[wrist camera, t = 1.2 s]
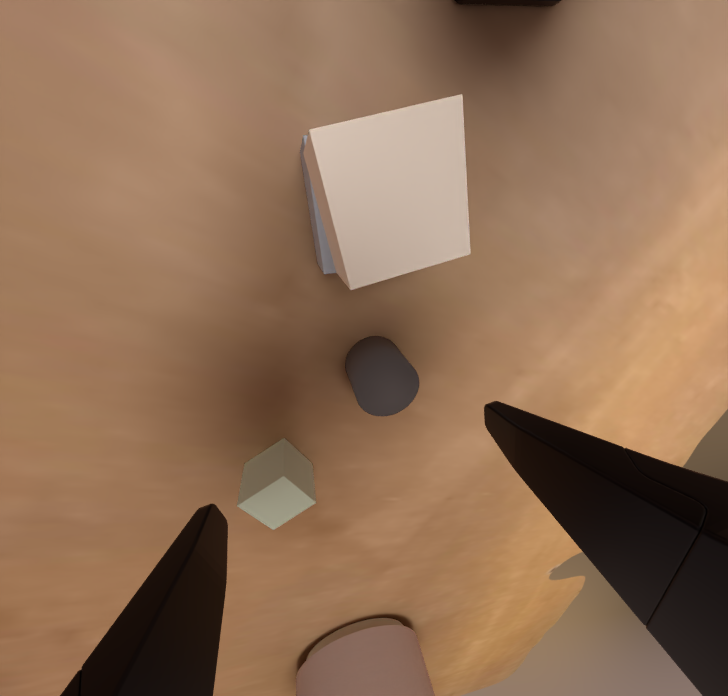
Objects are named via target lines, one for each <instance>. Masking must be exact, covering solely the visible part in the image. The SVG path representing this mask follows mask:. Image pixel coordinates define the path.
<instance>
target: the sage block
mask: <svg viewBox="0 0 728 696" xmlns="http://www.w3.org/2000/svg"><path fill="white" fill-rule="evenodd" d="M315 503H316V495H315V484H314V474H313V464H312V463H311V462H310V461H309V460H308V459H307V458H306V457H305V456H304V455H303V454H302V453H300V452H299V451H298V450H297V449H296V448H295V447H294V446H293V445H292V444H291V443H290V442H289V441H287V440H286V439H285V438H283V439H281V440H280V441H278V442H277V443H275V444H274V445H272V446H271V447H269V448H267V449H266V450H264V451H263V452H261V453H260V454H258V455H257V456H255V457H254V458H252V459H250V460H249V461H247V462H246V463H244V468H243V474H242V480H241V485H240V491H239V497H238V502H237V506H238V507H239V508H241V509H242V510H244V511H245V512H247V513H248V514H250V515H251V516H253V517H254V518H256V519H257V520H259V521H260V522H262V523H263V524H265V525H266V526H268V527H269V528H271V529H272V530H274V529H276V528H277V527H279V526H281V525H282V524H284V523H285V522H287V521H288V520H290V519H292V518H293V517H295V516H296V515H298V514H299V513H301V512H303V511H304V510H306V509H307V508H309V507H310V506H312V505H314V504H315Z"/></svg>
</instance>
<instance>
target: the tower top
mask: <svg viewBox="0 0 728 696" xmlns="http://www.w3.org/2000/svg"><path fill="white" fill-rule="evenodd" d="M303 154H304V158H305V162H306V165H307V169H308V172H309V176H310V180H311V183H312V187H313V190H314V194H315V198H316V201H317V205H318V209H319V212H320V216H321V219H322V223H323V227H324V230H325V234H326V237H327V241H328V245H329V248H330V252H331V256H332V259H333V263H334V266H335V270H336V273H337V274H338V275H339V276H340V278H341V279H342V280H343V281H344V283H345V284H346V285H347V286H348V287H349V289H350V290H353V289H356V288H360V287H363V286H366V285H370V284H373V283H376V282H380V281H383V280H386V279H390V278H393V277H396V276H400V275H403V274H406V273H410V272H413V271H416V270H420V269H423V268H426V267H430V266H433V265H436V264H440V263H443V262H446V261H450V260H453V259H456V258H460V257H463V256H466V255H470V254H471V253H470V233H469V214H468V194H467V175H466V155H465V136H464V116H463V97H462V94H460V95H456V96H452V97H448V98H443V99H439V100H435V101H430V102H426V103H422V104H417V105H413V106H409V107H404V108H400V109H396V110H392V111H387V112H383V113H379V114H374V115H370V116H366V117H361V118H357V119H353V120H349V121H344V122H340V123H336V124H331V125H327V126H323V127H318V128H314V129H310V130H309V132H308V136H307V140H306V144H305V148H304V152H303Z"/></svg>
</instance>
